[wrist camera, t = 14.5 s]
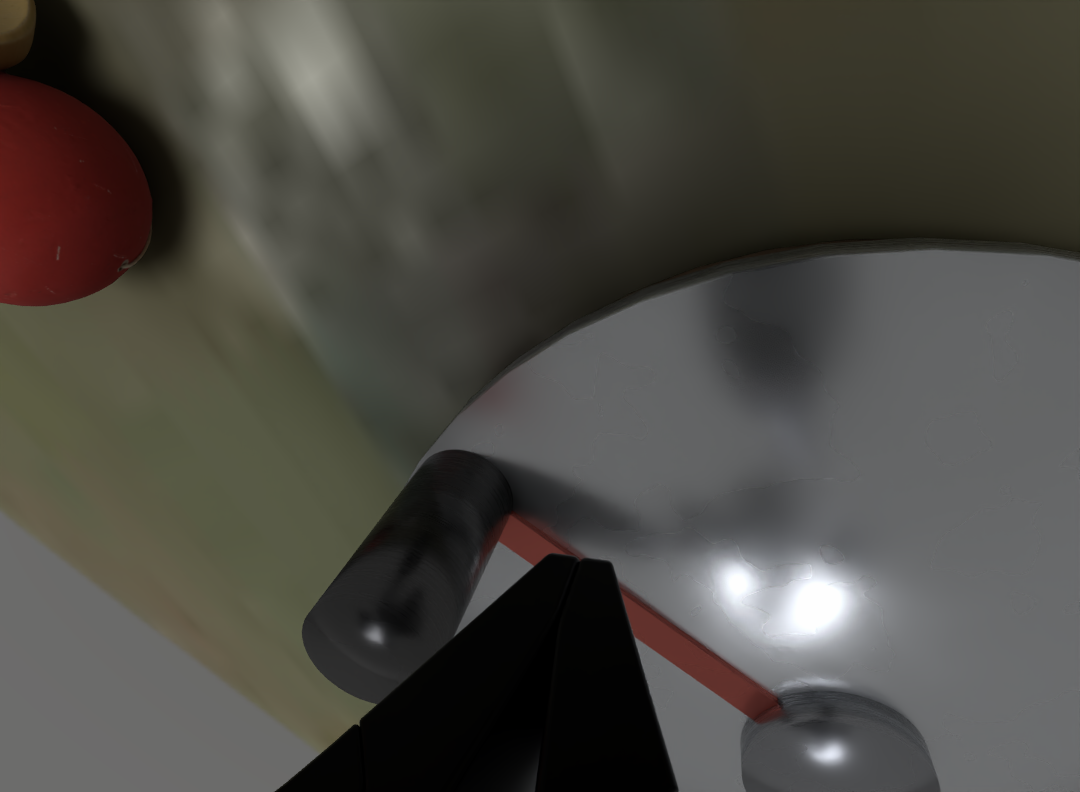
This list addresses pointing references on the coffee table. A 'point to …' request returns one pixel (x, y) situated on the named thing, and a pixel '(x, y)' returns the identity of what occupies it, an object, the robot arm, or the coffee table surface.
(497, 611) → the robot arm
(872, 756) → the handwheel
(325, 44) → the coffee table surface
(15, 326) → the coffee table surface
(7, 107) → the kendama
